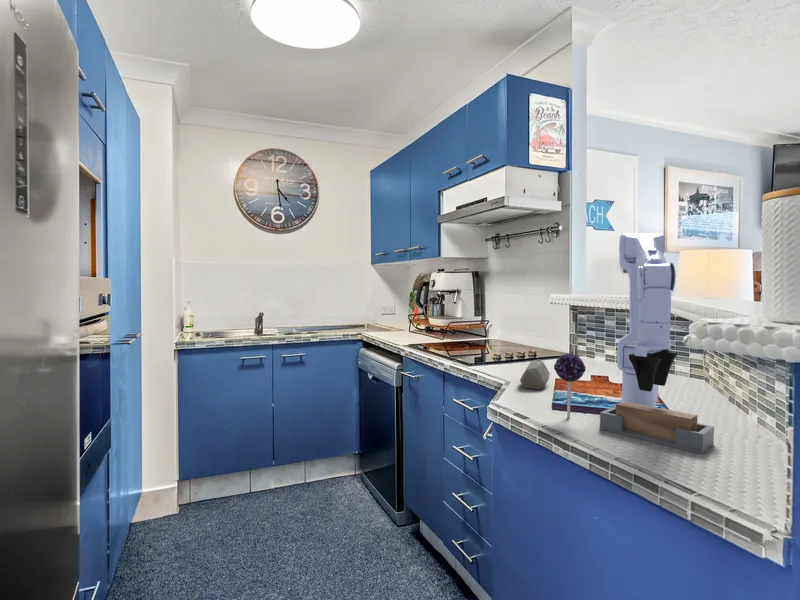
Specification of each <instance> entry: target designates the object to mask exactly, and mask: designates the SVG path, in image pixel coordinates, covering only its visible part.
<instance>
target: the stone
mask: <svg viewBox="0 0 800 600" xmlns="http://www.w3.org/2000/svg"><path fill="white" fill-rule="evenodd" d="M524 370H525V371H524V372H523V374H522V375H521V377H520V379H519V381H520V384H521V386H522V387H523V388H526V389H533V390H542V389H544V387H545V386H546V384H547V383H548V381H549V380H550V371H549V369H548V368H547V365H546V364H545V362H544V361H542V360H541V359H539V358H538V359H534V360H532V361H530V363H528V366H527V367H526V369H524Z"/></svg>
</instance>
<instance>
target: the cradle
mask: <svg viewBox="0 0 800 600" xmlns="http://www.w3.org/2000/svg"><path fill="white" fill-rule="evenodd" d="M599 417H600V418H599V430H600V431H601V430H602V431H606V432H610V433H612V434H613V433H614V434H617V435H622V436H626V437H630V438H635V439H637V440H638V439H639V440H642V441H647V442H651V443H654V444H659V445H663V446H666V447H667V446H668V447H672V448H676V449H680V450H684V451H687V452H692V453H697V454H701V455H703V454H704V453H705V452H707V451H708V450H709V449H711V448H712V446H714V445H715V441H714V440H715V439H714V438H715V426H714V425H708V424H703V423H699V422H697V432H695V431H690V430H686V429H681V428H676V438H675V441H671V440H667V439H662V438H658V437H654V436H649V435H645V434H641V433H637V432H632V431H628V430H624V429H623V416H620V415H616V406H612V407H610V408H607V409H605V410H603V411H600V414H599Z"/></svg>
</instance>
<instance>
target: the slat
mask: <svg viewBox="0 0 800 600" xmlns="http://www.w3.org/2000/svg"><path fill="white" fill-rule="evenodd" d="M615 405H616V406H615V407H616V415H620V416H623V429H624V430H628V431H632V432H637V433H641V434H645V435H649V436H654V437H658V438H662V439H667V440H671V441H675V438H676V428H681V429H686V430H690V431H695V432H697V423H698V415H697V414H694V413H689V412H683V411H678V410H673V409H668V408H667V409H666V408H662V407H660V408H657V407H652V406H647V405H641V404H636V403H631V402H625V401H623V402H622V401H621V402H620V401H619V402H618V403H615Z"/></svg>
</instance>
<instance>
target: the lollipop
mask: <svg viewBox="0 0 800 600" xmlns="http://www.w3.org/2000/svg"><path fill="white" fill-rule="evenodd" d="M586 368H587V367H586V365H585V364H584V361H583V359H582V358H580V356H578V355H577V354H574V353H564V354H562V355H560V356H559V357H558V358H557V359H556V361H555V363H554V365H553V369H554V371H555V373H556V375H557V376H558V378H559V379H561V380H562V381H564V382H567V398H566V399H567V402H566V403H567V404H566V405H567V407H566V409H567V410H566V412H567V413H566V418H567V419H570V418H571V389H572V382H575V381H578V380H579V379H580V380H581V378H582V377H583V375H584V374H585V372H586Z"/></svg>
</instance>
